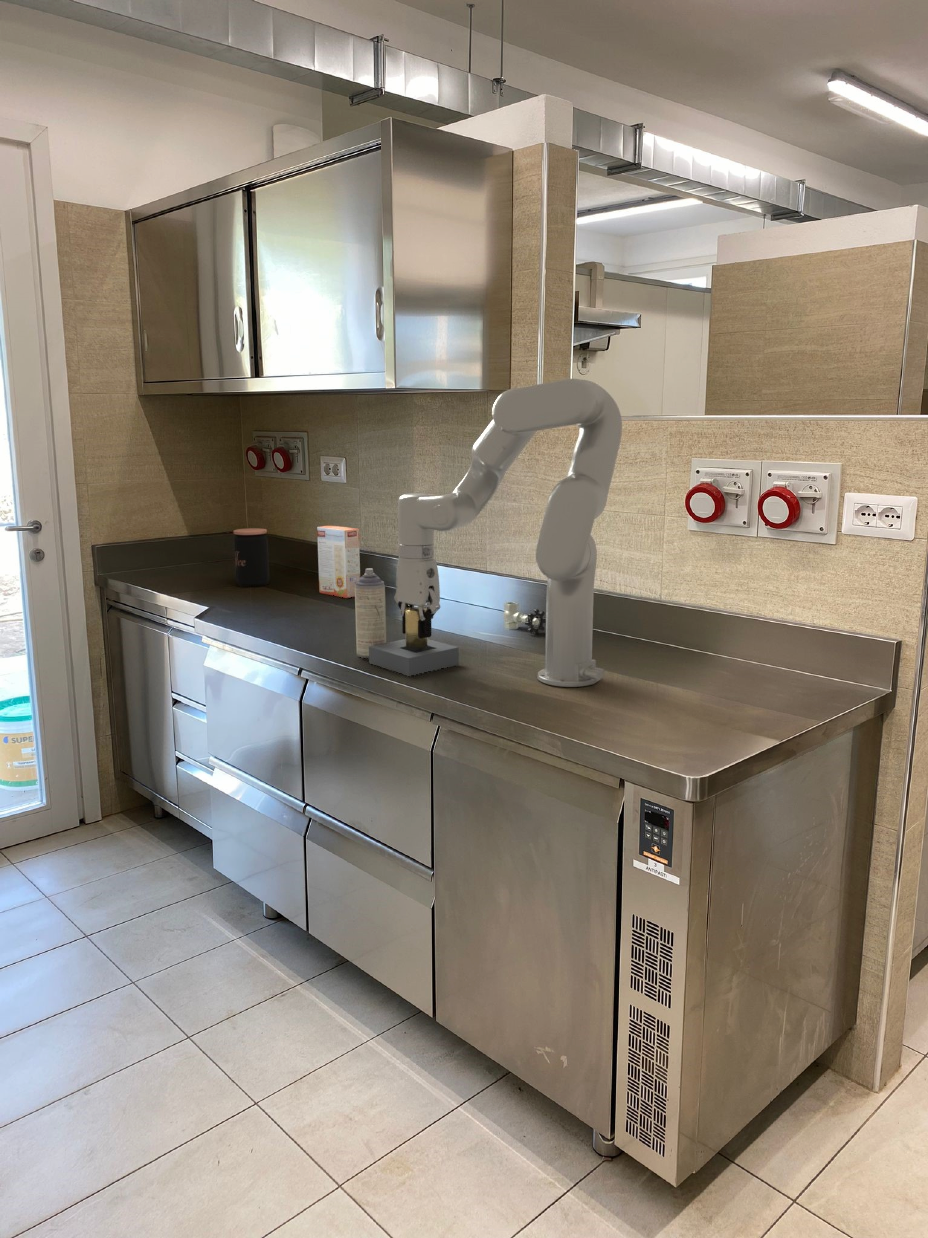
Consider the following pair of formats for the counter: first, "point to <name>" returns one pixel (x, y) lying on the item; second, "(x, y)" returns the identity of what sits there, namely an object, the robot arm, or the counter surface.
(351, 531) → the cracker box
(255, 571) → the coffee jar
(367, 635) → the aerosol can
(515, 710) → the counter surface
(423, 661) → the block
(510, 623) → the valve
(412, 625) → the brass bushing
